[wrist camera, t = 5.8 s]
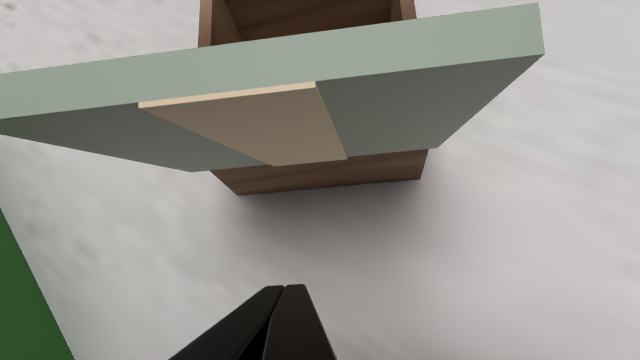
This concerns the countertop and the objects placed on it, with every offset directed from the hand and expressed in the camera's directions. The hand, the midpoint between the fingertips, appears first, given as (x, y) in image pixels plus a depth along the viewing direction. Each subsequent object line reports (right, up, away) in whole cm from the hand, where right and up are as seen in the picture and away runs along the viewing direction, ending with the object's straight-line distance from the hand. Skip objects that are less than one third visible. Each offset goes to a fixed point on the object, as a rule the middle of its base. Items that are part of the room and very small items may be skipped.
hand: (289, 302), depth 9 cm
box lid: (0, +4, +3) cm, 5 cm away
